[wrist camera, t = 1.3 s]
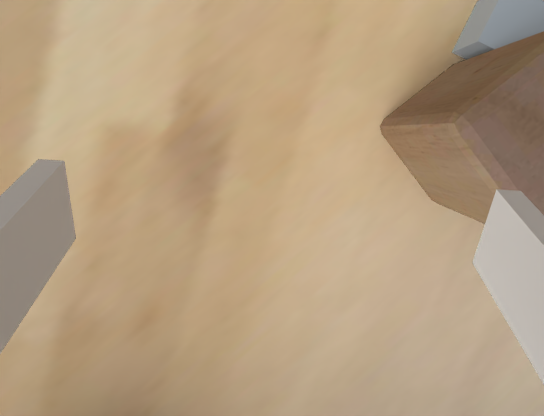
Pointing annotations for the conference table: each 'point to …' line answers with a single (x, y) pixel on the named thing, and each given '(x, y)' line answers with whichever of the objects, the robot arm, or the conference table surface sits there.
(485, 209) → the wooden block
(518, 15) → the slate block
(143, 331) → the conference table surface
